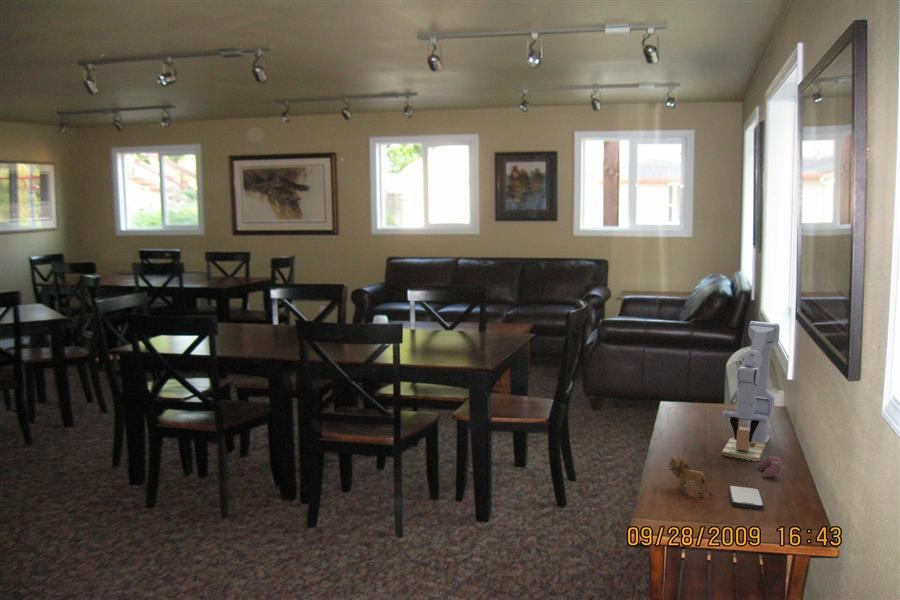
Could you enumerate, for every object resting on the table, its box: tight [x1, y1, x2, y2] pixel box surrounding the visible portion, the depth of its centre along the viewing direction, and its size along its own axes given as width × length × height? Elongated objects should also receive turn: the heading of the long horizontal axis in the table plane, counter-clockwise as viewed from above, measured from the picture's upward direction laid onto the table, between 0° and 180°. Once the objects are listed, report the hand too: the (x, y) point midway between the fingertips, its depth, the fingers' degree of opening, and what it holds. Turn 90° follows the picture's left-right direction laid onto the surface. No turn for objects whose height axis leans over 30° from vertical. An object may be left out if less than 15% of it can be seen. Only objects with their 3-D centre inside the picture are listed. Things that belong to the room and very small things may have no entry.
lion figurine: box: [667, 456, 714, 498], centre depth 244 cm, size 15×5×9 cm, turn 45°
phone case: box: [728, 485, 765, 511], centre depth 239 cm, size 9×2×16 cm
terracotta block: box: [736, 426, 750, 451], centre depth 281 cm, size 4×4×7 cm
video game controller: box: [757, 454, 783, 479], centre depth 262 cm, size 10×5×7 cm, turn 169°
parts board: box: [721, 437, 767, 462], centre depth 286 cm, size 20×12×2 cm, turn 153°
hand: (743, 440), depth 281 cm, fingers closed on terracotta block, 4 cm apart
